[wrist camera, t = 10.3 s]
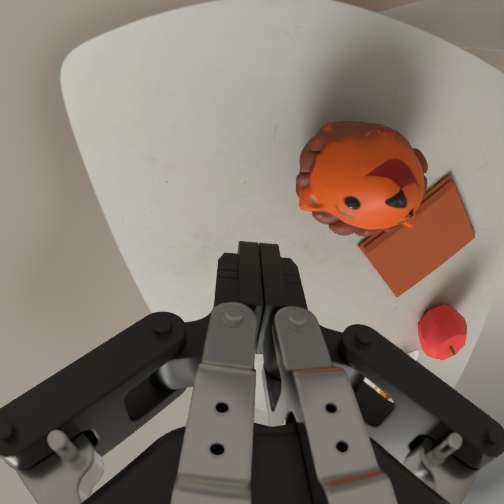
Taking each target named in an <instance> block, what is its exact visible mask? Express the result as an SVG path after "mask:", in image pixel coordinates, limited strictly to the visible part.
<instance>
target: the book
mask: <svg viewBox="0 0 504 504" xmlns="http://www.w3.org/2000/svg"><path fill="white" fill-rule="evenodd" d="M415 213H416V218H415V226H414V227H413V228H409V227H406V226H405V225H403V224H400V227H399V228H398V229H397V230H395V231H392V232H385V231H383V230H381V231H380V232H378V233H377V234H375V235H372V236H369V237H368V238H366V239H365V240H364V241H362V242H361V243H360V244H358V246H359V248H360V249H361V250H362V252H363V253H364V254H365V255H366V257H367V258H368V259H369V261H370V262H371V263H372V265H373V266H374V267H375V269H376V270H377V271H378V273H379V274H380V275H381V277H382V278H383V279H384V281H385V282H386V283H387V285H388V286H389V288H390V289H391V290H392V292H393V293H394V294H395V296H396V297H398V296H400V295H401V294H402V293H404V292H405V291H407V290H408V289H409V288H411V287H412V286H413V285H415V284H416V283H418V282H419V281H420V280H422V279H423V278H424V277H426V276H427V275H428V274H430V273H431V272H432V271H434V270H435V269H436V268H438V267H439V266H440V265H441V264H443V263H444V262H445V261H447V260H448V259H449V258H450V257H452V256H453V255H454V254H455V253H457V252H458V251H459V250H460V249H461V248H463V247H464V246H465V245H466V244H468V243H469V242H470V241H471V240H472V239H474V238H475V235H474V233H473V230H472V227H471V224H470V222H469V219H468V216H467V214H466V211H465V209H464V206H463V204H462V201H461V199H460V196H459V194H458V192H457V189H456V187H455V185H454V182H453V180H452V178H451V176H450V175H449V174H448V175H447V176H446V177H445V178H443V179H442V180H441V181H440V182H438V183H437V184H436V185H435V186H433V187H432V188H431V189H430V190H429V191H427V192H426V193H425V194H424V197H423V198H422V201H421V204H420V206H419V207H418V209H417V210H416V211H415Z"/></svg>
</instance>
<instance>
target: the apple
mask: <svg viewBox="0 0 504 504" xmlns="http://www.w3.org/2000/svg"><path fill="white" fill-rule="evenodd" d="M466 334H467V325H466V322H465V319H464V317H463V316H461V315H460V314H459V313H458V312H457V311H456V310H455V309H454V308H453V307H450V306H447V305H444V304H442V305H440V306H438V307H435V308H432V309H429V310H428V311H427V312H426V314H425V315H424V316H423V318H422V319H421V320H420V321H419V323H418V335H419V339H420V343H421V347H422V350H423V351H424V352H425V353H426V355H427V356H430V357H432V358H435V359H440V360H445V359H447V358H449V357H451V356H453V355H455V354H456V353H457V352H458V351H459V350H460V349H461V348H462V347H463V346H464V345H465V341H466Z"/></svg>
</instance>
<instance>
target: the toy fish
mask: <svg viewBox="0 0 504 504" xmlns="http://www.w3.org/2000/svg"><path fill="white" fill-rule="evenodd" d="M427 170H428V164H427V161H426V159H425V157H424V155H423V154H422V153H421V151H420V150H418V149H415V148H412V147H411V145H410V144H409V142H408V141H407V140H406V139H405V137H404V136H403V135H401V134H400V133H399V132H397V131H396V130H394V129H392V128H389V127H387V126H383V125H379V124H370V123H362V122H352V121H339V122H333V123H330V124H327V125H325V126H324V127H322V128H321V129H320V131H319V132H318V133H317V134H316V135H315V136H314V137H313V138H312V139H311V140H310V141H309V142H308V143H307V144H306V146H305V147H304V149H303V151H302V152H301V155H300V172H299V174H298V176H297V178H296V193H297V195H298V197H299V198H300V200H299V206H300V208H301V209H302V210H305V211H312V215H313V217H314V218H315V219H316V220H318V221H319V222H321V223H323V224H329V228H330V229H331V230H332V231H333V232H335V233H337V234H339V235H350V234H353V233H354V232H355V234H357V235H359V236H372V235H375V234H377V233H378V232H380V231H381V230H383V231H385V232H392V231H395V230H397V229H398V228H399V227H400V224H403V225H405V226H406V227H409V228H413V227H414V226H415V218H416V213H415V211H416V210H417V209H418V207H419V206H420V204H421V201H422V198H423V197H424V194H425V192H426V189H427V179H426V177H425V176H424V173H426V172H427Z"/></svg>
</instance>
